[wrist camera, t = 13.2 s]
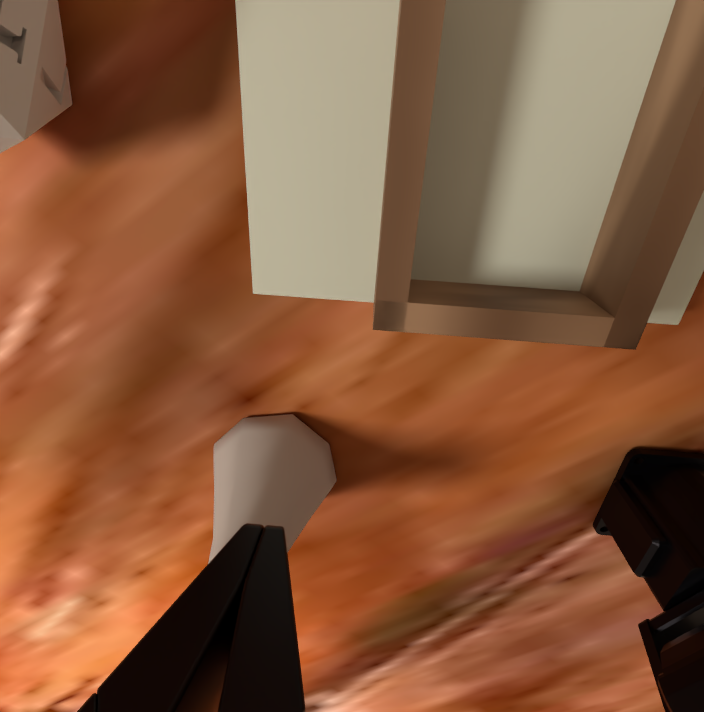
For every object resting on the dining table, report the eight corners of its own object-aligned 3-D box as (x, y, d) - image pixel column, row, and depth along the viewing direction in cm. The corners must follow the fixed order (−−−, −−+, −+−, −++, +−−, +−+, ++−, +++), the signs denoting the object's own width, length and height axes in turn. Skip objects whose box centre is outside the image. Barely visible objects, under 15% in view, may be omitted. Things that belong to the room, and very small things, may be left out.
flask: (194, 435, 24) (89, 602, 16) (299, 393, 22) (247, 556, 14) (259, 514, 27) (201, 694, 18) (356, 483, 25) (344, 666, 17)
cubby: (714, 0, 13) (800, -37, 10) (598, 319, 18) (635, 349, 16) (401, -17, 13) (406, -56, 11) (373, 302, 18) (372, 329, 16)
